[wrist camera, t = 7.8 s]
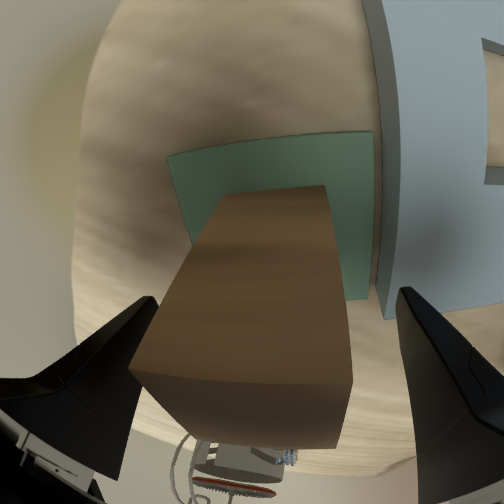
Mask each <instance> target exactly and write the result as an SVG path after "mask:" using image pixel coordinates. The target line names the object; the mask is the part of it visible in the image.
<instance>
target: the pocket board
mask: <svg viewBox="0 0 504 504" xmlns="http://www.w3.org/2000/svg"><path fill="white" fill-rule="evenodd" d="M362 3H363V7H364V11H365V16H366V20H367V25H368V30H369V35H370V40H371V45H372V51H373V57H374V64H375V70H376V78H377V86H378V95H379V105H380V118H381V133H382V161H383V193H382V221H381V237H380V250H379V261H378V271H377V280H376V290H377V294H378V298H379V302H380V306H381V310H382V315H383V319H384V320H387V319H397V318H396V311H395V305H396V300H397V295H398V290H399V288H400V287H405V286H411V287H412V288H413V289H414V290H416V291H417V292H418V293H419V294H420V295H421V296H422V297H423V298H424V299H425V300H427V301H428V302H429V303H430V304H431V305H432V306H433V307H434V308H435V309H436V310H437V311H438V312H439V313H445V312H451V311H458V310H464V309H470V308H476V307H481V306H486V305H492V304H497V303H502V302H504V168H498V167H486V161H487V147H488V92H487V78H486V68H485V60H484V53H483V49H484V50H487V51H491V52H494V53H497V54H499V55H502V56H504V0H362Z"/></svg>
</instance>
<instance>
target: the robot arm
mask: <svg viewBox="0 0 504 504" xmlns="http://www.w3.org/2000/svg"><path fill="white" fill-rule="evenodd" d="M158 308H159V306H158V304H157V302H156V300H155V298H154V297H153V296H143V297H141V298H140V299H139V300H137V301H136V302H135V303H133V304H132V305H131V306H129V307H128V308H127V309H125V310H124V311H123V312H121V313H120V314H119V315H117V316H116V317H115V318H113V319H112V320H111V321H109V322H108V323H107V324H105V325H104V326H103V327H101V328H100V329H99V330H97V331H96V332H95V333H93V334H92V335H91V336H89V337H88V338H87V339H86V340H84V341H83V342H82V343H80V345H78V346H76V347H75V348H74V349H73V350H71V351H70V352H69V353H67V354H66V355H65V356H63V357H62V358H60V359H59V360H58V361H56V362H54V363H53V364H52V365H50V366H49V367H47V368H46V369H44V370H43V371H41V372H40V373H38V374H37V375H35V376H32V377H29V378H0V504H107V503H105V501H104V499H103V496H102V494H101V492H100V489H99V487H98V484H97V482H96V480H95V479H93V475H94V472H95V471H96V472H98V473H100V474H102V475H105V476H107V477H109V478H111V479H113V480H116V481H118V478H119V474H120V469H121V465H122V461H123V457H124V452H125V448H126V444H127V440H128V438H127V437H128V436H129V432H130V429H131V425H132V421H133V418H134V414H135V410H136V407H137V403H138V400H139V397H140V393H141V390H142V384H141V383H140V382H139V381H138V380H137V379H136V378H135V376H134V375H133V374H132V373H131V372H130V370H129V369H128V367H129V365H130V362H131V360H132V358H133V356H134V354H135V352H136V350H137V348H138V346H139V344H140V342H141V340H142V338H143V336H144V334H145V333H146V331H147V329H148V327H149V325H150V323H151V321H152V319H153V317H154V315H155V313H156V311H157V310H158ZM395 311H396V318H397V326H398V334H399V342H400V350H401V355H402V360H403V365H404V369H405V374H406V380H407V385H408V391H409V397H410V403H411V410H412V417H413V424H414V433H415V442H416V453H417V468H418V504H438V503H442V502H445V501H449V504H504V376H503V375H502V374H501V373H500V372H499V371H497V370H496V369H495V368H494V367H493V366H492V365H491V364H490V363H489V362H488V361H487V360H486V359H485V358H484V357H483V356H482V355H481V354H480V353H479V352H478V351H477V350H476V349H475V348H474V347H472V345H471V344H470V342H469V341H468V340H467V339H466V338H465V337H464V336H463V335H462V334H461V333H460V332H459V331H458V330H457V329H456V328H455V327H454V326H453V325H452V324H451V323H450V322H449V321H448V320H447V319H446V318H445V317H443V316H442V315H441V314H440V313H439V312H438V311H437V310H436V309H435V308H434V307H433V306H432V305H431V304H430V303H429V302H428V301H427V300H425V299H424V298H423V297H422V296H421V295H420V294H419V293H418V292H417V291H416V290H414V289H413V288H412V287H411V286H405V287H400V288H399V290H398V295H397V300H396V305H395Z"/></svg>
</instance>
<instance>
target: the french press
mask: <svg viewBox="0 0 504 504" xmlns="http://www.w3.org/2000/svg"><path fill="white" fill-rule="evenodd" d="M190 435H191V434H190V433H188V434H187V435H186V436H185V437H184V439H183V440H182V441H181V443H180V444H179V446H178V447H177V449H176V452H175V455H174V458H173V461H172V465H171V471H170V480H171V488H172V491H173V494H174V496H175V498H176V500H177V501H178V502H179V503H180V504H184V503H182V501H181V500H180V499H179V497H178V494H177V492H176V489H175V483H174V465H175V463H176V460H177V457H178V454H179V452H180V450H181V448H182V446H183V443H184V442H185V441H186V440H187V439H188V437H189V436H190ZM211 443H215V442H208V441H202V440H197V442H196V446H195V449H194V453H193V456H192V461H191V464H190V470H189V475H188V477H189V486H190V494H191V498H189V502H188V504H191V503H192V500H193V502H194V504H198V503H197V501H196V497H198V498H203V499H205V500H207V504H210V499H209V498H208V497H206V496H203V495H198V494H196V495H194V491H193V484H195V485H197V486H199V487H200V486H201V487H204V488H206V489H208V488H209V489H212V490H214V489H215V491H217V490H219V492H220V491H222V492H223V491H225V493H227V492H229V496H230V497H229V502H228V504H231V502H232V497H233V496H234V494H236V495H238V494H239V496H240V495H242V496H246V495H247V496H249V497H250V495H251V496H252V497H256V496H257V497H258V496H259V497H258V498H266V497H267V498H272V497H274V496H275V495H276V493H275V492H274V491H272V490H270V489H268V488H263V487H259V486H254V485H249V484H242V483H236V482H230V481H225V480H220V479H211V478H203V477H192V474H193V471H194V469H196V470H198V471H200V472H203V473H206V474H209V475H212V476H216V477H220V478H224V479H229V480H235V481H241V482H250V483H279V482H281V481H282V479H283V473H284V466H285V461H281V462H279V463H277V464H276V458H283V457H284V456H285V455H286V449H281V450H278V449H273V448H258V447H247V446H237V445H229V444H221V443H219V445H218V447H217V448H210V444H211ZM214 453H216V457H215V459H210V460H207V456H208V454H214ZM235 483H236V484H235ZM241 484H242V485H241ZM247 485H248V486H247ZM247 496H246V497H247ZM261 496H262V497H261Z"/></svg>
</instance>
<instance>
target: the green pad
mask: <svg viewBox="0 0 504 504" xmlns="http://www.w3.org/2000/svg"><path fill="white" fill-rule="evenodd" d="M166 160H167V163H168V167H169V170H170V174H171V177H172V181H173V184H174V188H175V191H176V194H177V198H178V201H179V204H180V207H181V211H182V214H183V217H184V220H185V223H186V226H187V229H188V233H189V236H190V239H191V242H192V245H194V243H195V241H196V240H197V238H198V236H199V235H200V233H201V231H202V230H203V228H204V226H205V225H206V223H207V221H208V220H209V218H210V216H211V215H212V213H213V211H214V210H215V208H216V206H217V205H218V203H219V201H220V200H221V198H222V197H223V195H227V194H235V193H243V192H252V191H261V190H271V189H281V188H292V187H303V186H316V185H325V188H326V193H327V197H328V202H329V207H330V212H331V217H332V222H333V227H334V232H335V238H336V243H337V249H338V255H339V261H340V267H341V274H342V280H343V287H344V295H345V301H346V300H361V299H368V290H369V281H370V271H371V259H372V245H373V226H374V149H373V133H372V132H371V131H350V132H330V133H315V134H303V135H292V136H283V137H274V138H266V139H258V140H251V141H244V142H238V143H231V144H225V145H220V146H214V147H209V148H203V149H198V150H193V151H188V152H184V153H179V154H174V155H170V156H168V157H167V158H166Z"/></svg>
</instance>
